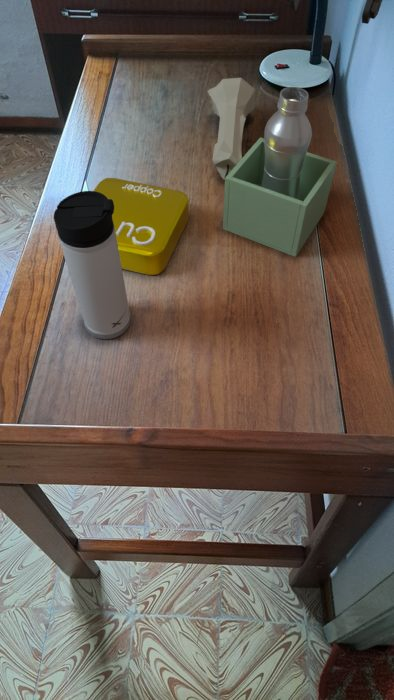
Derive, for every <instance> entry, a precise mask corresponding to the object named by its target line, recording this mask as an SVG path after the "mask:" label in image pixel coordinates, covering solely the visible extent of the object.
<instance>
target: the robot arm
mask: <svg viewBox="0 0 394 700" xmlns="http://www.w3.org/2000/svg"><path fill="white" fill-rule="evenodd" d="M286 3H287V4H288V7H289V10H292V11H297V9H298V7H299V3H300V0H286ZM382 4H383V0H366V1H365V4H364V7H363V10H362V14H361V23H362V24H366V25H368V24H369V23H370V20H371V19H372V20H375V19H376V18H377V16H378V15H379V12H380V9H381V6H382Z"/></svg>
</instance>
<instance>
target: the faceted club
mask: <svg viewBox="0 0 394 700" xmlns="http://www.w3.org/2000/svg"><path fill="white" fill-rule="evenodd" d="M207 93H208V95H209V97H210V98H211V102H212V109H213V112H214V114H215V115H216V116H218V117H219V124H218V134H217V142H216V143H215V144H214V145H213V152H212V162H213V164H214V167H215V168H216V170H217V172H218V173H219V175H220V176H221V178H222V180H224V181H225V177H226V176H227V175H228V174H229V173H230V172H231V171H232V169H233V168H234V167H235V166H236V165H237V164H238V162H239V161H240V160H241V159H242V158H243V156H242V155H243V154H242V152H243V151H242V150H243V149H242V148H243V147H242V146H243V133H244V127H245V123H246V119H247V117H248V116H249V114H251V113H252V112H253V110H254V109H255V107H256V89H255V88H254V87H253V86H252V85H251V84H249V83H248V82H247V81H246V80H244V78H242V77H232V78H222V79H221V81H220V82H219V83H218V84H217V85H216V86H214V87H212V88H210V89H208V90H207Z"/></svg>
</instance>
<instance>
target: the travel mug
mask: <svg viewBox="0 0 394 700" xmlns="http://www.w3.org/2000/svg"><path fill="white" fill-rule="evenodd" d="M113 213H114V203H113V200H112V199H108V198H107V197H106V196H105V195H104V194H102V193H99V192H96V191H94V190H82V191H78V192H75V193H72V194H70V195H68V196H66V197H65V198H63V199H62V200H60V202H59V203H58V204H57V206H56V209H55V210H54V212H53V221H54V224H55V228H56V232H57V237H58V240H59V244H60V247H61V250H62V253H63V257H64V260H65V263H66V268H67V271H68V273H69V276H70V281H71V283H72V287H73V290H74V293H75V298H76V300H77V303H78V308H79V310H80V313H81V317H82V321H83V324H84V327H85V330H86V331H87V333H89V335H91V336H92V337H94V338H96V339H100V340H110V339H115V338H117V337H120V336H121V335H123V334H124V333H125V332H126V331H127V330H128V329H129V327H130V325H131V313H130V307H129V301H128V296H127V290H126V284H125V277H124V273H123V269H122V267H121V261H120V255H119V250H118V244H117V238H116V232H115V227H114V223H113V220H112V214H113Z"/></svg>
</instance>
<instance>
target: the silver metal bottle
mask: <svg viewBox="0 0 394 700" xmlns="http://www.w3.org/2000/svg"><path fill="white" fill-rule="evenodd" d="M308 101H309V92H308V91H307V90H305V89H303V88H301V87H298V86H290V87H289V86H288V87H285V88H282V89H281V90H280V93H279V97H278V101H277V110H276V111H275V112H274V113H273V114H272V116H270V118H269V119H268V120H267V122H266V124H265V127H264V132H263V138H264V143H265V167H264V175H263V180H262V185H261V187H263V188H266V189H269V190H272V191H275V192H278V193H280V194H283V195H286V196H289V197H292V198H295V199H298V200H299V182H300V175H301V170H302V167H303V162H304V159H305V156H306V153H307V152H308V149H309V147H310V145H311V140H312V137H313V131H312V126H311V125H312V124H311V122H310V120H309V118H308V117H307V114H306V113H307V110H308V108H309V107H308V106H309V105H308Z"/></svg>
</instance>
